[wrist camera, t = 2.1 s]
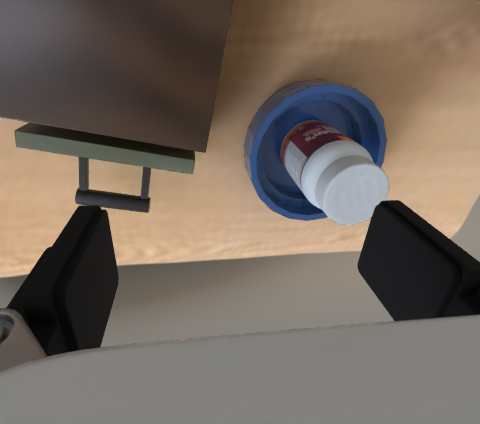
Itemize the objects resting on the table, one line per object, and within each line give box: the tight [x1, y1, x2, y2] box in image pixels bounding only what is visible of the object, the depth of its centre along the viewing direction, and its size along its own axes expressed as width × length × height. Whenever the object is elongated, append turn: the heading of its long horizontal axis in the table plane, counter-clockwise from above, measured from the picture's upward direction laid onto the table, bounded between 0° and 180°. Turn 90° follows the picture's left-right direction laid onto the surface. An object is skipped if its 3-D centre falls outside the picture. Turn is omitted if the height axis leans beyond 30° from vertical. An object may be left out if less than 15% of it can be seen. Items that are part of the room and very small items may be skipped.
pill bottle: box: [280, 120, 389, 225], centre depth 28 cm, size 6×6×11 cm
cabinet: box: [0, 0, 233, 153], centre depth 21 cm, size 16×14×9 cm
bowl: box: [244, 79, 387, 221], centre depth 31 cm, size 13×13×4 cm
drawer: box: [15, 123, 195, 213], centre depth 24 cm, size 20×12×7 cm, turn 167°
